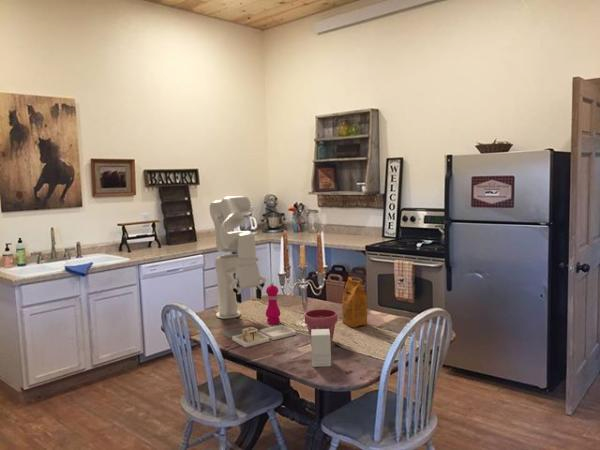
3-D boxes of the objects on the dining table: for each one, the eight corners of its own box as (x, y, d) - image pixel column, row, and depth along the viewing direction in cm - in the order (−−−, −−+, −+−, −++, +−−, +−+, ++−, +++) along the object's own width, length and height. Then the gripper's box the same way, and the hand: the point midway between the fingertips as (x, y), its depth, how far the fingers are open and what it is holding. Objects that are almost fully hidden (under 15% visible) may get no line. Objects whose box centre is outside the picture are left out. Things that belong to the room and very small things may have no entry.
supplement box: (330, 359, 203) (330, 328, 202) (331, 366, 196) (330, 334, 194) (312, 359, 204) (311, 328, 202) (311, 367, 196) (310, 335, 195)
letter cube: (242, 340, 227) (242, 328, 227) (252, 337, 230) (252, 326, 229) (248, 343, 223) (248, 331, 222) (258, 340, 226) (258, 329, 225)
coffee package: (357, 318, 254) (356, 275, 252) (370, 325, 243) (369, 280, 240) (339, 321, 251) (338, 277, 248) (351, 329, 239) (350, 282, 237)
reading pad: (219, 333, 239) (219, 332, 239) (242, 327, 246) (242, 326, 246) (229, 339, 231) (229, 337, 231) (252, 333, 237) (252, 332, 237)
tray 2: (259, 334, 236) (259, 329, 236) (281, 328, 243) (281, 324, 242) (273, 341, 226) (273, 336, 226) (296, 335, 233) (295, 331, 233)
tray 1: (232, 340, 228) (232, 336, 228) (255, 335, 235) (255, 330, 235) (245, 348, 218) (244, 343, 218) (269, 342, 225) (269, 337, 225)
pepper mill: (278, 324, 249) (277, 284, 246) (264, 324, 250) (262, 284, 248) (282, 320, 256) (280, 280, 253) (268, 319, 257) (266, 280, 255)
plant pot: (314, 334, 233) (313, 307, 232) (343, 338, 227) (342, 310, 225) (299, 344, 221) (298, 315, 219) (329, 349, 214) (328, 319, 212)
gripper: (260, 258, 230) (262, 295, 232) (225, 263, 221) (227, 302, 222) (268, 260, 224) (270, 298, 226) (233, 265, 214) (235, 305, 216)
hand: (249, 300), depth 224 cm, fingers open, 9 cm apart
